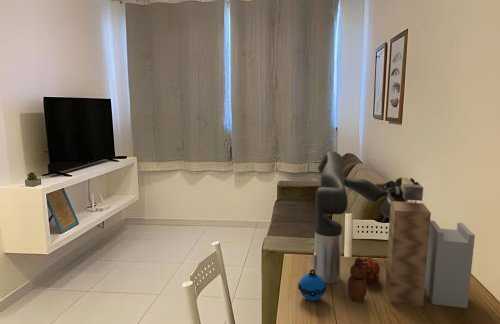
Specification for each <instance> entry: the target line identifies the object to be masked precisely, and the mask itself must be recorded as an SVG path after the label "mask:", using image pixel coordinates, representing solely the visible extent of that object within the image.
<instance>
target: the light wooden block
mask: <svg viewBox="0 0 500 324" xmlns="http://www.w3.org/2000/svg"><path fill="white" fill-rule="evenodd" d="M401 178H402V184H401V186H400V189H401V190H402V192H403V196H402V197H403V198H404V200H408V201H423V199H424V198H423V196H424V187H423V185H421V184H420V185H414V184H413V183H412V182H411V181H410V178H409V177H401Z"/></svg>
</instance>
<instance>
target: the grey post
mask: <svg viewBox="0 0 500 324" xmlns="http://www.w3.org/2000/svg"><path fill="white" fill-rule="evenodd" d="M475 238H476V235H475V233H473V231H472V230H470V228H468V227H467V225H465V224H464V223H463V222H457V224H456V229H452V228H441V227H440V226H439V225H438V223H437V222H436V221H435V220H430V229H429V240H428V252H427V264H426V276H425V288H424V290H426V293H427V296H428V298H429V300H430V302H431V304H432V305H438V306H445V307H446V306H447V307H453V308H462V309H463V308H464V309H468V306H469V305H468V304H469V294H470V285H471V277H472V268H473V267H472V266H473V258H474V257H473V256H474V248H475V247H474V246H475V240H476V239H475Z"/></svg>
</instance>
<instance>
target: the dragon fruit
mask: <svg viewBox="0 0 500 324" xmlns="http://www.w3.org/2000/svg"><path fill="white" fill-rule="evenodd" d="M362 266H364V268H365V276H364V278H365V280H366V283H370V282H372V281H377V280H379V274H380V271H381V269H380V268H381V267H380V265H379V263H378V262H375V260H374V259H373V258H372V257H370V256H369V257H367V258H362Z"/></svg>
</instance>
